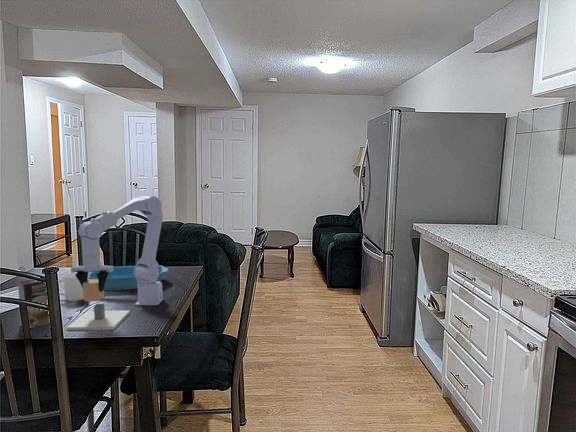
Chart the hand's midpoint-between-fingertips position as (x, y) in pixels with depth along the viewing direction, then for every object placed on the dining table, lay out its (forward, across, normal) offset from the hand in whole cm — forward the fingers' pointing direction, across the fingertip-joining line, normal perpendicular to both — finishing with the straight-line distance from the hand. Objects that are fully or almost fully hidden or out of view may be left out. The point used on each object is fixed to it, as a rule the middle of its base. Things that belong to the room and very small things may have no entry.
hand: (93, 291), depth 151 cm
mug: (+11, -20, +23) cm, 32 cm away
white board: (+10, +3, -3) cm, 11 cm away
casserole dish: (+11, -4, +43) cm, 45 cm away
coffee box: (+11, -18, -5) cm, 22 cm away
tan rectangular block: (+3, 0, 0) cm, 3 cm away
